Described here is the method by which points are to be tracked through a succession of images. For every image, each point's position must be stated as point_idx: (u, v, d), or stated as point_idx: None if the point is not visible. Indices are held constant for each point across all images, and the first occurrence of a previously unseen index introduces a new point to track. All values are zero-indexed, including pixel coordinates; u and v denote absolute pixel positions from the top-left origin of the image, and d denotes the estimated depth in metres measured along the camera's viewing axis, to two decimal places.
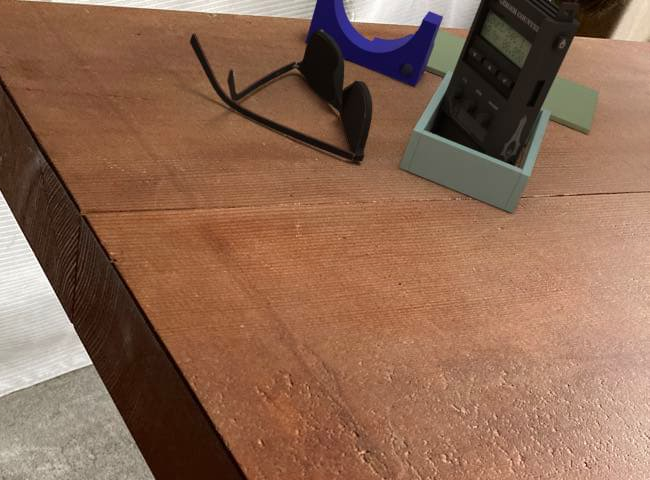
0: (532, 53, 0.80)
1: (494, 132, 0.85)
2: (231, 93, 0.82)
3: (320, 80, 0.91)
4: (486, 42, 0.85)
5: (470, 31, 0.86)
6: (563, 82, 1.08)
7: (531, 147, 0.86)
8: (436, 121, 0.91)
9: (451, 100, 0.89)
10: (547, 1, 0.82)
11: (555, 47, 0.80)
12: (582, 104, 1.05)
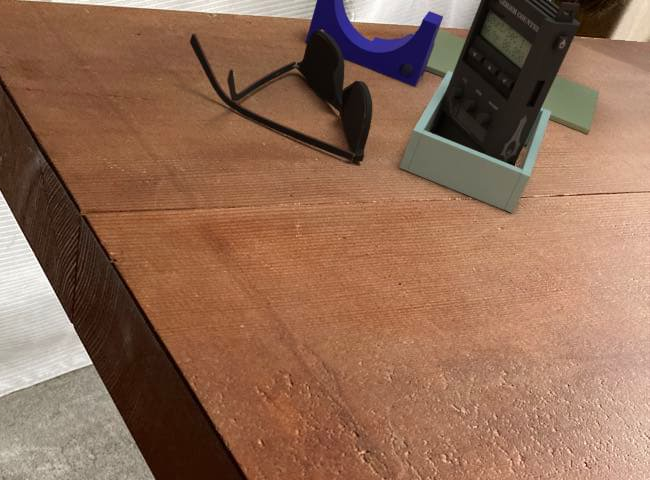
0: (532, 53, 0.80)
1: (494, 132, 0.85)
2: (231, 93, 0.82)
3: (320, 80, 0.91)
4: (486, 42, 0.85)
5: (470, 31, 0.86)
6: (563, 82, 1.08)
7: (531, 147, 0.86)
8: (436, 121, 0.91)
9: (451, 100, 0.89)
10: (547, 1, 0.82)
11: (555, 47, 0.79)
12: (582, 104, 1.05)
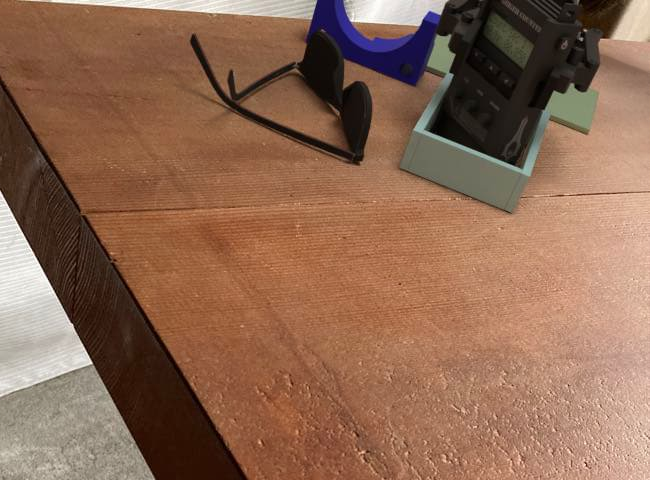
0: (534, 54, 0.80)
1: (496, 132, 0.85)
2: (231, 93, 0.82)
3: (320, 80, 0.91)
4: (488, 42, 0.85)
5: None
6: None
7: (531, 147, 0.86)
8: (437, 121, 0.91)
9: (452, 100, 0.89)
10: (549, 2, 0.82)
11: (557, 48, 0.79)
12: (582, 104, 1.05)
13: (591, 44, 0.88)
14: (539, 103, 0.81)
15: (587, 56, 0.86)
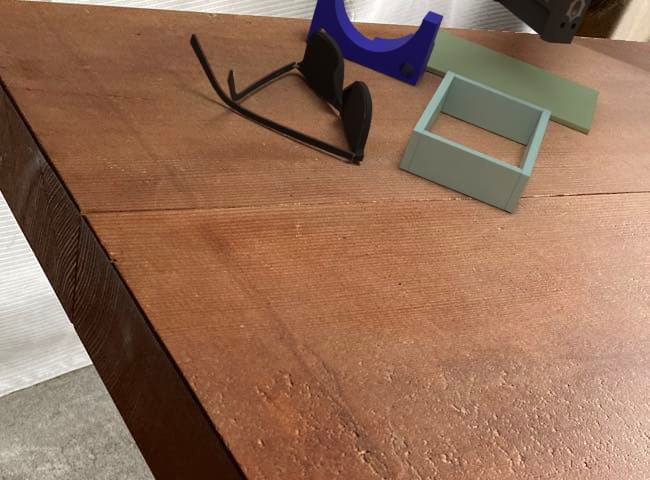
0: None
1: None
2: (231, 93, 0.82)
3: (320, 80, 0.91)
4: None
5: None
6: (563, 82, 1.08)
7: (531, 147, 0.86)
8: None
9: None
10: None
11: None
12: (582, 104, 1.05)
13: None
14: None
15: None
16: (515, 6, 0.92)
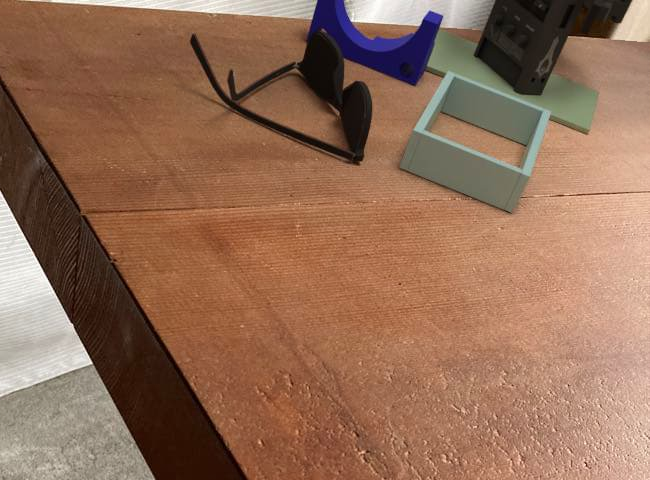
0: None
1: (531, 51, 1.00)
2: (231, 93, 0.82)
3: (320, 80, 0.91)
4: None
5: None
6: (563, 82, 1.08)
7: (531, 147, 0.86)
8: (478, 46, 1.06)
9: (492, 27, 1.04)
10: None
11: None
12: (582, 104, 1.05)
13: None
14: (583, 28, 0.97)
15: None
16: (493, 62, 1.05)
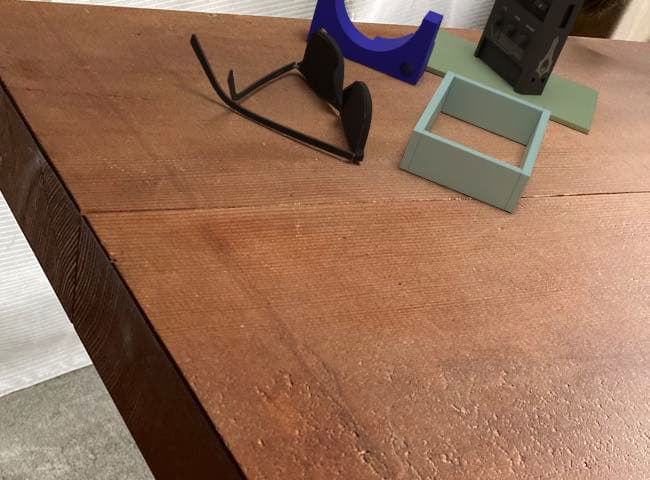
0: None
1: (531, 51, 1.00)
2: (231, 93, 0.82)
3: (320, 80, 0.91)
4: None
5: None
6: (563, 82, 1.08)
7: (531, 147, 0.86)
8: (478, 46, 1.06)
9: (492, 27, 1.04)
10: None
11: None
12: (582, 104, 1.05)
13: None
14: None
15: None
16: (493, 62, 1.05)
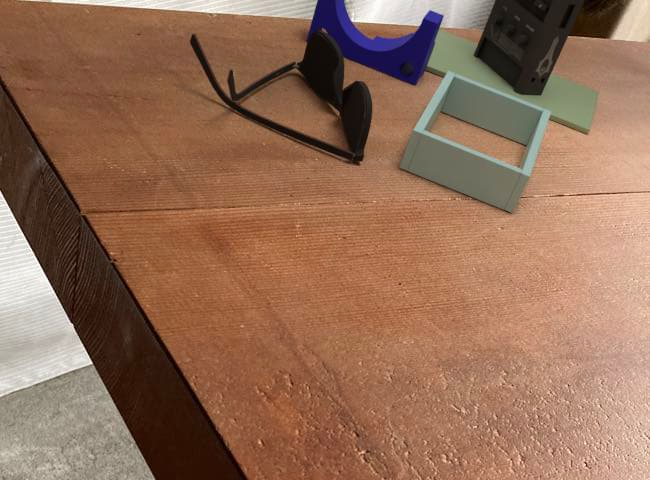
0: None
1: (531, 51, 1.00)
2: (231, 93, 0.82)
3: (320, 80, 0.91)
4: None
5: None
6: (563, 82, 1.08)
7: (531, 147, 0.86)
8: (478, 46, 1.06)
9: (492, 27, 1.04)
10: None
11: None
12: (582, 104, 1.05)
13: None
14: None
15: None
16: (493, 62, 1.05)
